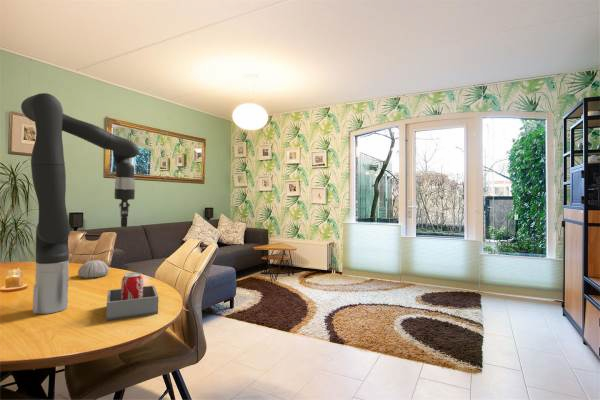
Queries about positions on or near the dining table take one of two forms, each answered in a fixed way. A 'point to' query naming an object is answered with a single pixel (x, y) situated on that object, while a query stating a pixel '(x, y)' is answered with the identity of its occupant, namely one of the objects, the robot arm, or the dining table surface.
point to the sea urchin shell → (93, 269)
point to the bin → (131, 304)
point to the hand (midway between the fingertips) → (123, 226)
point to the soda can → (132, 286)
